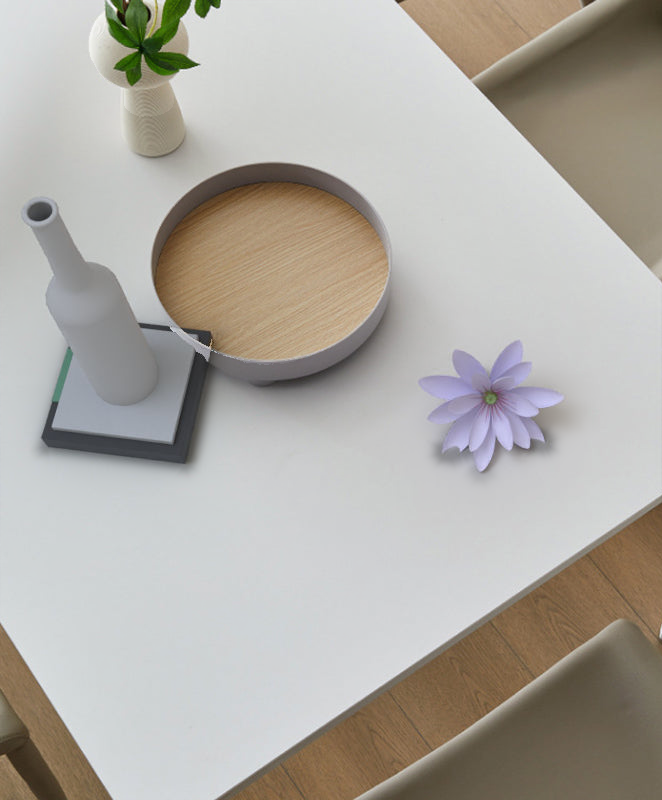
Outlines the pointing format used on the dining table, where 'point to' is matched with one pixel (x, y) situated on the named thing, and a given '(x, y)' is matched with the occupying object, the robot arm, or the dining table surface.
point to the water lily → (488, 403)
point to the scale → (138, 423)
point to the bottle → (92, 313)
